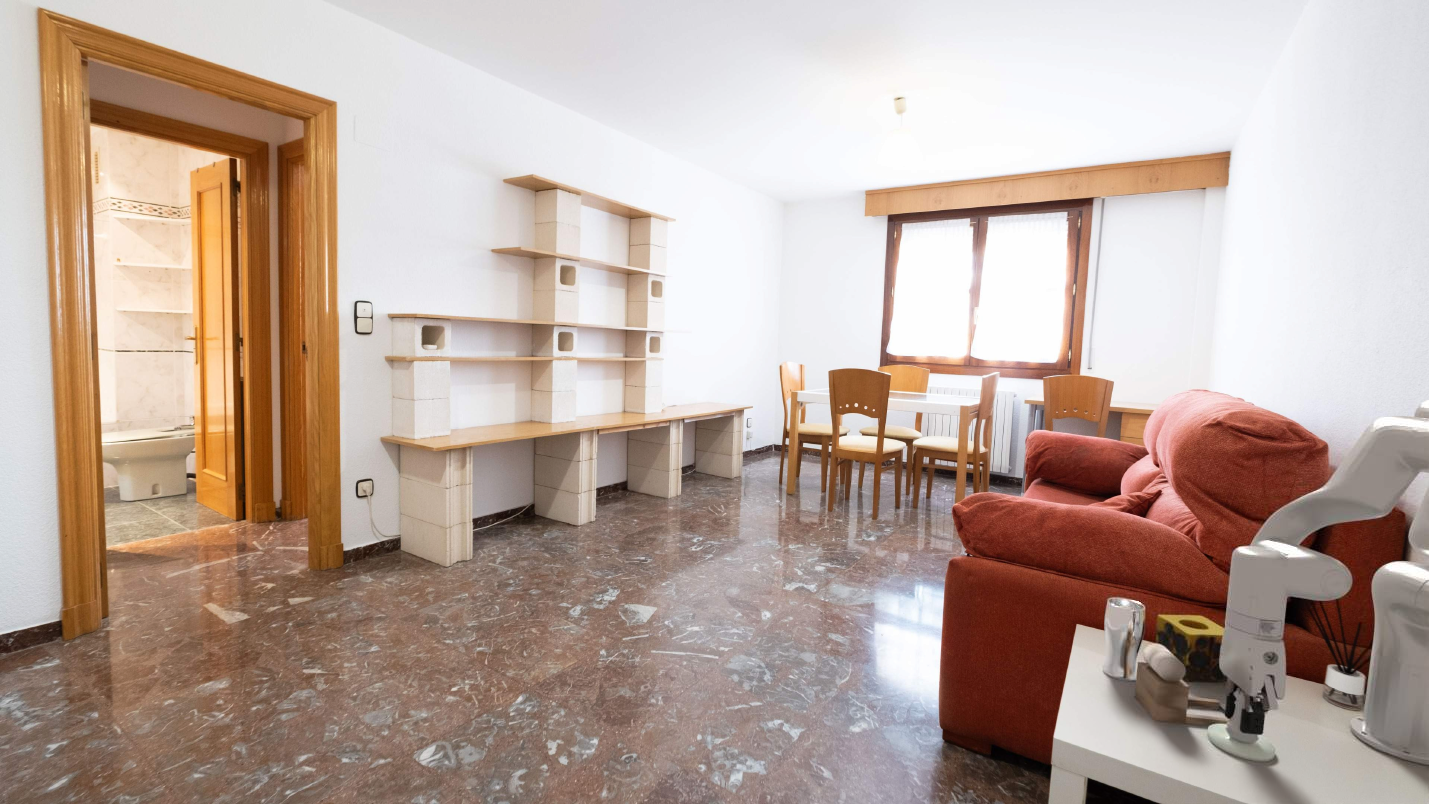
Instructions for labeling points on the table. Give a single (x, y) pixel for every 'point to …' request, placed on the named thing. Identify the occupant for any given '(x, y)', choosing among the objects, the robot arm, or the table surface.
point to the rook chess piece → (1239, 719)
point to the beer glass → (1123, 637)
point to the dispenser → (1169, 689)
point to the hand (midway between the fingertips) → (1243, 724)
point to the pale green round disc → (1241, 745)
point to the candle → (1193, 645)
